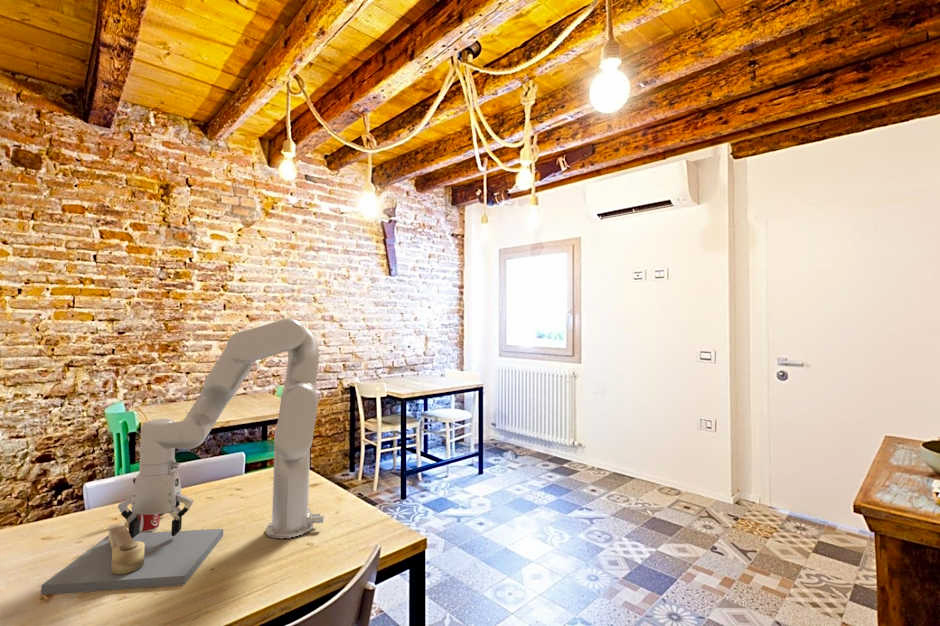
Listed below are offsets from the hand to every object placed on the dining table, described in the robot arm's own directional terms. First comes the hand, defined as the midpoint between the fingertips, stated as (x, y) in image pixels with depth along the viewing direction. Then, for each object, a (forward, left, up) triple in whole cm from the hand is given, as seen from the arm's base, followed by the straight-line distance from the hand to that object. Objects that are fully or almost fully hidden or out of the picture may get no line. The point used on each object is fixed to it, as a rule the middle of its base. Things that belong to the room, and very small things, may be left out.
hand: (155, 534), depth 119 cm
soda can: (+7, -12, -4) cm, 14 cm away
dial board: (-1, +7, -3) cm, 8 cm away
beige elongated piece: (+3, +8, -1) cm, 9 cm away
